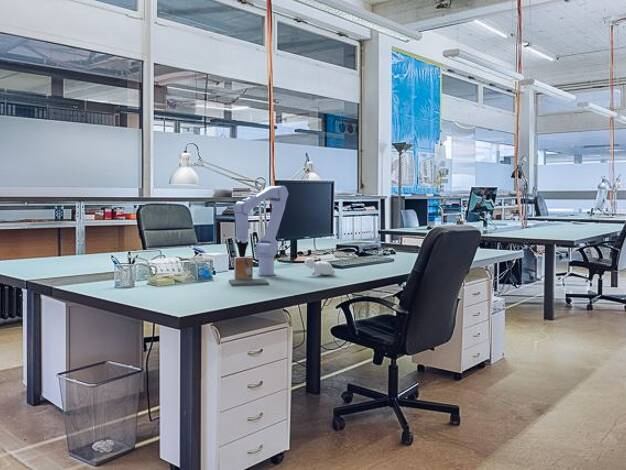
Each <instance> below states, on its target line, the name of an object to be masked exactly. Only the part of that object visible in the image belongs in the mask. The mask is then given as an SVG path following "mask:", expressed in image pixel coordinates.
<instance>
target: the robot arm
mask: <svg viewBox="0 0 626 470" xmlns="http://www.w3.org/2000/svg"><path fill="white" fill-rule="evenodd" d="M288 196H289V191H288V189H287V187H286V185H268V186H266V187H265V188H264V189H263V190H261V191H260V192H259V193H258V194H250V195H248V197H246V198H243V199H242V201H237V202H236V203H235V204H233V207H232V211H233V214H234V217H235V237H234V236H233V237H232V239H233V240H236V242H235V244H236V246H237V252H238V255H239V256H238V257H246V252H247V251H246V250H247V248H248V246H249V244H250V243H249V241H247V240H249V239H250V237H249V214H250V213H251V211H252V210H253V209H254V208H255V209H256V207H258V206H259V205H260V203H261V201H264V200H265V199H268V201H269V202H270V203H271V205H272V206H273V207H272V211H271V215H270V218H269V221H268V222H267V226H266V229H265V233H264V235H263V236H262V237H261V238H259V239H258V242H257V243H256V245H255V253H256V254H257V256H258V271H257V272H256V274H257V275H259V276H277V274H276V272H275V257H276V255H277V254H278V248H279V247H278V246H279V241H278V240H277V239H276V237H277V234H278V232H279V228H280V225H281V221H282V218H283V214H284V211H285V208H286V203H287V199H288Z"/></svg>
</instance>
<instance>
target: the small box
mask: <svg viewBox="0 0 626 470" xmlns="http://www.w3.org/2000/svg"><path fill="white" fill-rule="evenodd" d="M253 259H254V258H253V257H252V256H245V257H240V256H234V261H233V262H234V269H233V271H234V273H233V274H234V275H233V278H234V279H254V277H253V275H254V274H253V273H254V271H253V269H254V268H253V261H254V260H253Z"/></svg>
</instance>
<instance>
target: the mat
mask: <svg viewBox="0 0 626 470" xmlns="http://www.w3.org/2000/svg"><path fill="white" fill-rule="evenodd" d="M228 283H229V284H230V285H231V287H239V286H241V287H242V286H243V287H244V286H245V287H246V286H248V285H249V286H269V285H270V283H269V281H268V280H267V279H266V278H253V279H228Z"/></svg>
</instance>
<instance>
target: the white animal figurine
mask: <svg viewBox="0 0 626 470" xmlns="http://www.w3.org/2000/svg"><path fill="white" fill-rule="evenodd" d="M304 266H305V267H306V268H308V269H310V270H312V269H313V271H312V272H311V275H313V274H314V275H313V276H314V277H315V278H317V277H319V276H320V275H321V276H331V275H332V277H334V276H335V273H336V270H334V267H333V266H332V264H331V263H330V262H328V261H321V260H317V261H315V259H314V258H312V257H307V258H306V259H305V261H304Z"/></svg>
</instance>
